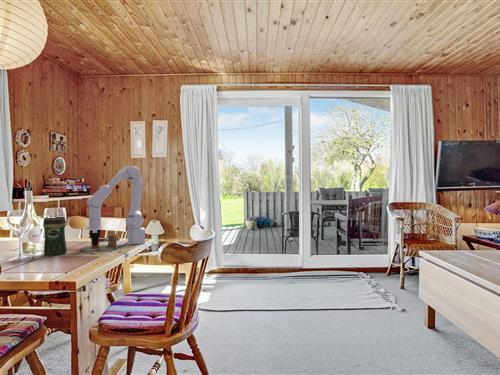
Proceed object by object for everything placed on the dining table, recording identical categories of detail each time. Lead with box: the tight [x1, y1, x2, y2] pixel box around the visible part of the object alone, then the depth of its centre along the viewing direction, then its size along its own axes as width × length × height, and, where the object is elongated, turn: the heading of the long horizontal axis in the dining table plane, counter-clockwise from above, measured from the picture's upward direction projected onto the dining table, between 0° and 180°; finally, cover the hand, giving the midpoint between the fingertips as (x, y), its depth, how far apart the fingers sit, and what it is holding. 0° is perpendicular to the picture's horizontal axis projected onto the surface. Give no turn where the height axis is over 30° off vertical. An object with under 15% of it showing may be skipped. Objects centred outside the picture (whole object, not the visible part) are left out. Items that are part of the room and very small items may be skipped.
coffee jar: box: [42, 216, 68, 257], centre depth 166 cm, size 10×8×19 cm
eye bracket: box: [81, 232, 119, 253], centre depth 180 cm, size 17×12×7 cm
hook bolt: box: [90, 236, 121, 248], centre depth 181 cm, size 14×4×6 cm, turn 114°
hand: (95, 244), depth 179 cm, fingers open, 7 cm apart
